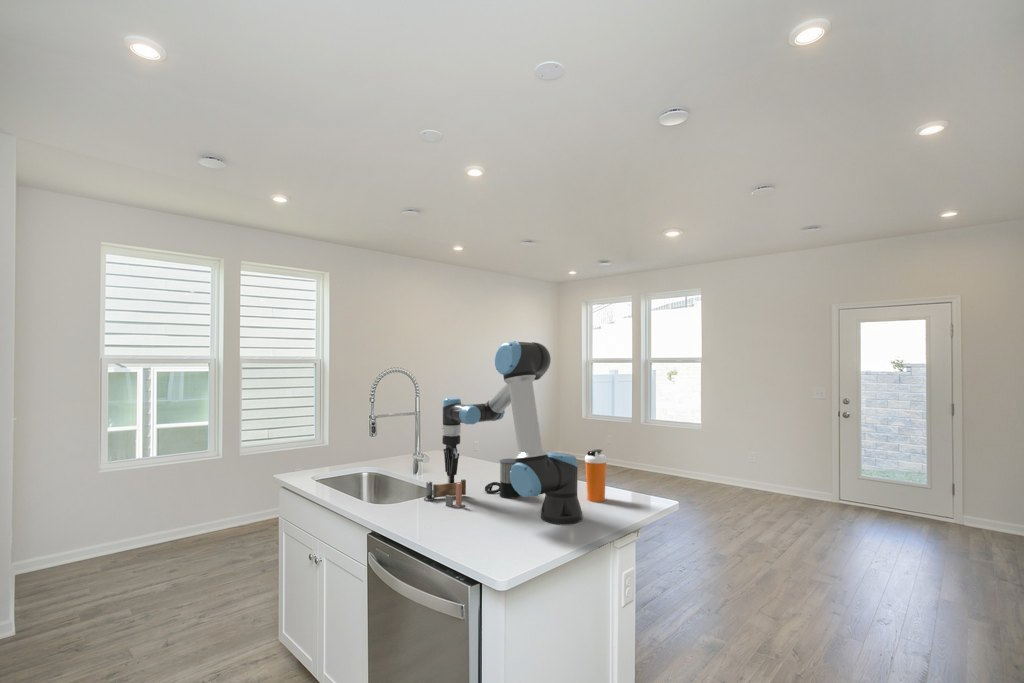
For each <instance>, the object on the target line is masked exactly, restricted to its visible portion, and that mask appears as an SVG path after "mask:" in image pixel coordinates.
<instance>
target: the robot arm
mask: <svg viewBox="0 0 1024 683" xmlns="http://www.w3.org/2000/svg"><path fill="white" fill-rule="evenodd" d="M495 352H496V353H495V356H494V366H495V369H496V371H497V372H498V373H499V374H500V375H502V376H503V382H505V383H504V384H503V385H502V386H501V387H499V389H498V390H497V391H496V392H495V393H494V394H493V396H491V397H490V398H489V400H488V401H486V403H475V404H474V403H473V404H464V403H463V404H462V401H461V400H462V399H460V398H459V397H446V398H444V399H443V401H442V427H441V430H442V444H443V446H445V448H443V454H444V455H443V456H444V469H445V473H446V475H447V478H446V480H447V481H446V483H455V476H456V475H458V474H457V473H458V464H459V458H460V453H459V452H458V448H457V446H458V445H460V444H461V435H460V434H461V433H462V432H461V428H462V426H461V423H462V424H465V425H476V424H477V423H482V422H483V423H484V422H496V421H499V420H502V419H503V418H504V415H505V413H506V412H505V411H506V409H507V408H508V407H509V406H510V405H511V411H512V417H513V425H514V432H515V439H516V441H515V442H516V446H517V447H516V448H517V454H516V456H515V457H514V459H515V464H514V465H513V466H512V468H511V471H510V481H511V484H512V486H513V488H514V489H515V491H517V493H518V494H519V495H521V496H520V497H524V498H533V497H538V496H540V495H543V494H544V499H543V503H542V506H541V509H540V518H541V520H543V522H546V523H550V524H558V525H569V524H571V525H572V524H575V523H580V522H581V521H582V520H583V511H582V510H583V509H582V507H581V505H580V504H581V503H580V501H579V497H578V468H579V467H578V460H577V457H576V455H573V454H569V453H561V452H546V451H545V450H543V445H542V438H541V430H540V424H539V418H538V411H537V405H536V398H535V397H536V396H535V391H534V384H533V383H534V382H535V381H539V380H540V379H541V378H543V376H544V375H545V374H546V373H547V372H548V369H549V368H550V366H551V362H552V361H551V360H552V359H551V358H552V357H551V354H550V352H549V350H548V348H547V347H546V346H545V345H544V344H541V343H539V342H536V341H535V342H525V341H507V342H503V343H502V344H501V345H500V346H499V347H498V348H497V351H495Z"/></svg>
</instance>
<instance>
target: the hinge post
mask: <svg viewBox="0 0 1024 683" xmlns="http://www.w3.org/2000/svg"><path fill="white" fill-rule="evenodd" d="M425 483H426V486H425V487H426V491H425V493H426V494H425V495H426V497H423V501H425V502H431V501H432V502H433V501H435V500H436V498H434V497H433V481H426V482H425Z"/></svg>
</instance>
